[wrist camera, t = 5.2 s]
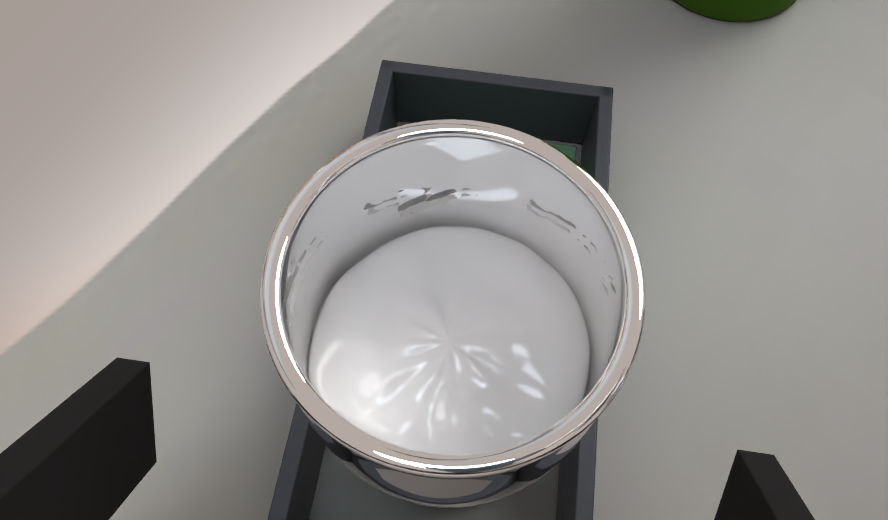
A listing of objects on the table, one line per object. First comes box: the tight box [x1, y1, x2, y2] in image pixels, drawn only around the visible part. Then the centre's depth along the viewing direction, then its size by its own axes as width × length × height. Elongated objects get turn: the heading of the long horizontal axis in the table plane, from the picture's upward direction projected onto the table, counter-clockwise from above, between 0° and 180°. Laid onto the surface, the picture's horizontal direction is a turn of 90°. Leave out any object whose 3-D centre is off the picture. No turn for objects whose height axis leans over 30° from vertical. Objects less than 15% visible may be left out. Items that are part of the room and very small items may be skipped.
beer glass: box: [260, 119, 645, 509], centre depth 17 cm, size 7×7×15 cm
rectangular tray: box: [268, 60, 613, 520], centre depth 24 cm, size 10×20×4 cm, turn 171°
